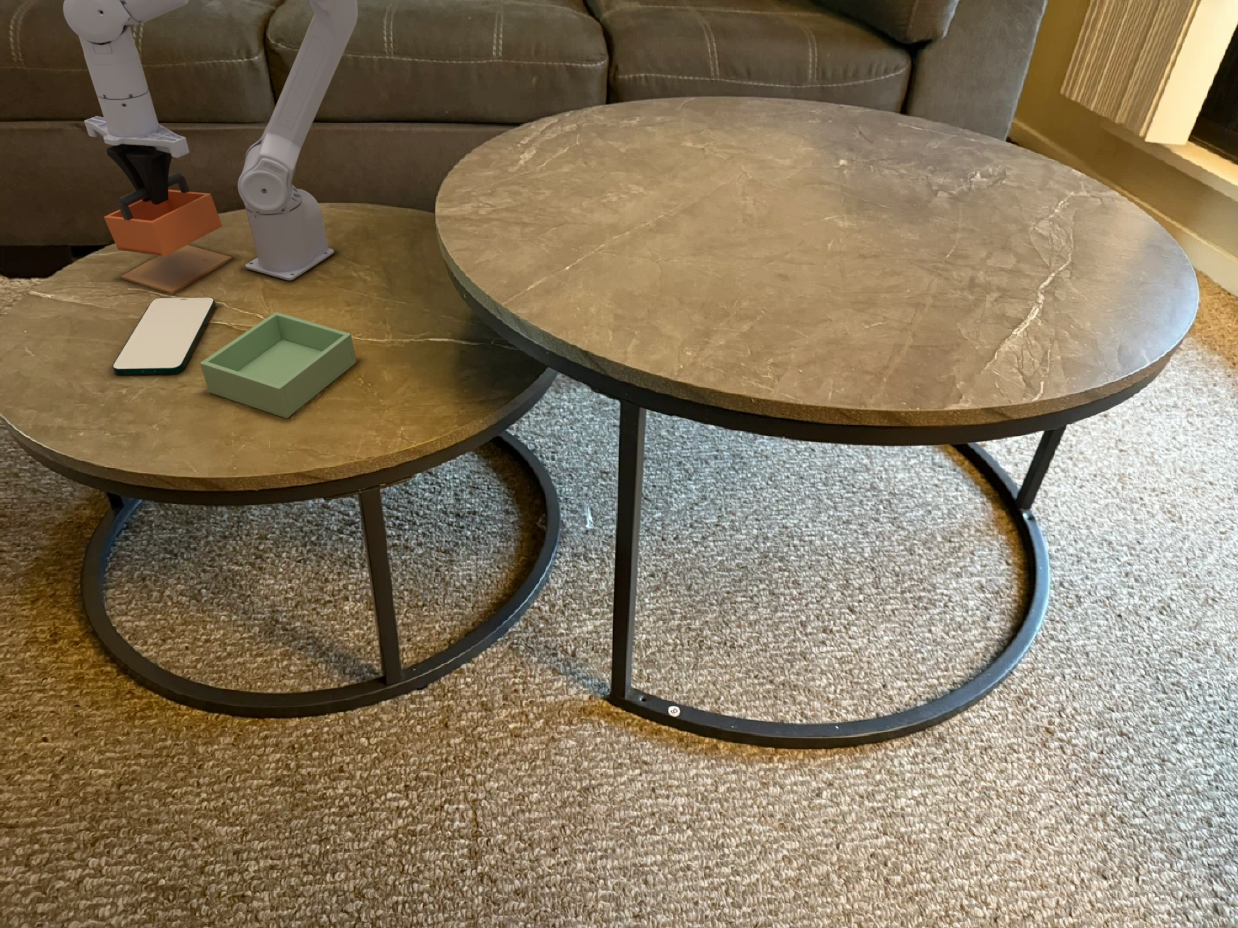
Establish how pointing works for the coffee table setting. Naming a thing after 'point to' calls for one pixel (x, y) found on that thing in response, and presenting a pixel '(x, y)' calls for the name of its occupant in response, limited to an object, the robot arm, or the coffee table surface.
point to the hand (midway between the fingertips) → (155, 200)
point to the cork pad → (176, 269)
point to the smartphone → (165, 336)
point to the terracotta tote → (162, 220)
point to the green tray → (279, 364)
